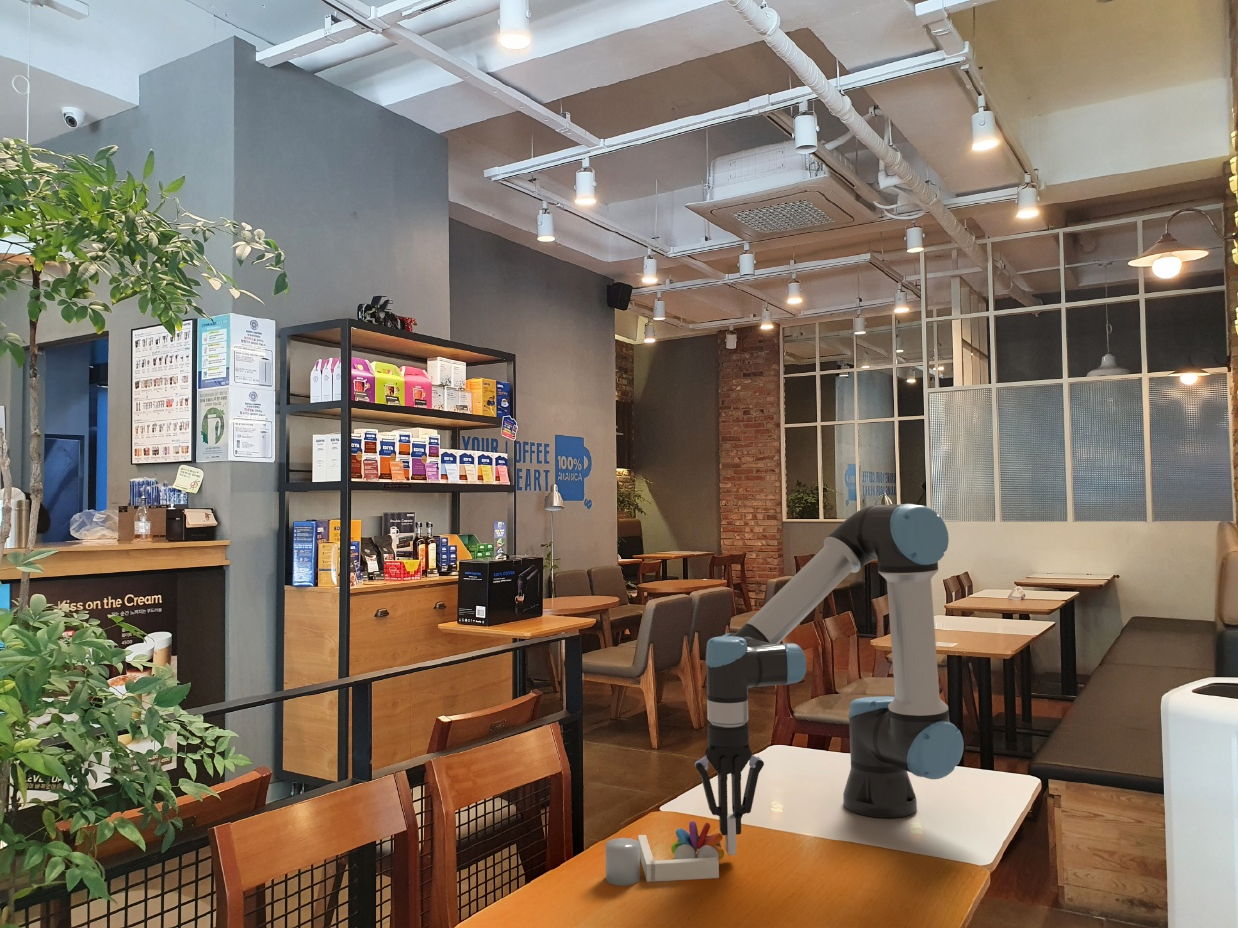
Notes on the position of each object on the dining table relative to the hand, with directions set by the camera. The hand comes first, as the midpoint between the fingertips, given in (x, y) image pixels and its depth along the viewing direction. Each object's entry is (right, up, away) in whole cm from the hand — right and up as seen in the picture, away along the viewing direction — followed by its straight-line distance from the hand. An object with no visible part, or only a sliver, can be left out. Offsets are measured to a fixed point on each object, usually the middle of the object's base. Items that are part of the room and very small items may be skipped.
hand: (730, 851), depth 168 cm
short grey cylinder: (-20, -2, -7) cm, 21 cm away
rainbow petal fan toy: (-6, -2, 0) cm, 6 cm away
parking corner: (-9, -2, -1) cm, 10 cm away
